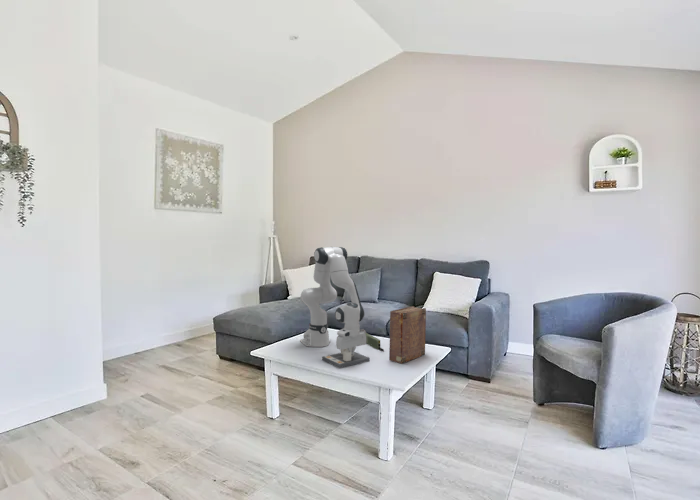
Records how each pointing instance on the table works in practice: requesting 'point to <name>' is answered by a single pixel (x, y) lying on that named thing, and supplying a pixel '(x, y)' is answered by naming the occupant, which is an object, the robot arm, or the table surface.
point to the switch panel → (340, 363)
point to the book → (407, 334)
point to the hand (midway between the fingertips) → (351, 354)
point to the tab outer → (346, 355)
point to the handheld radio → (373, 342)
